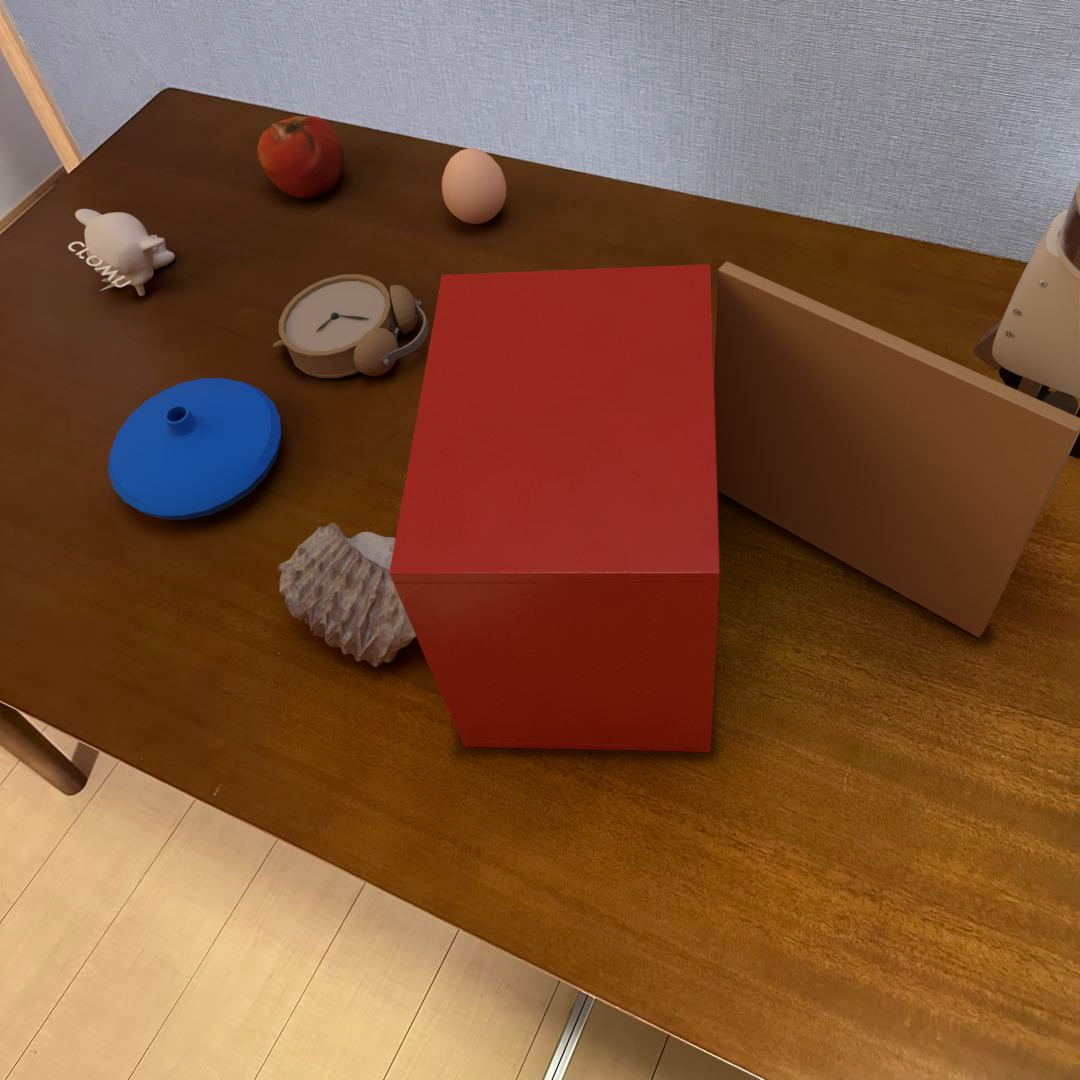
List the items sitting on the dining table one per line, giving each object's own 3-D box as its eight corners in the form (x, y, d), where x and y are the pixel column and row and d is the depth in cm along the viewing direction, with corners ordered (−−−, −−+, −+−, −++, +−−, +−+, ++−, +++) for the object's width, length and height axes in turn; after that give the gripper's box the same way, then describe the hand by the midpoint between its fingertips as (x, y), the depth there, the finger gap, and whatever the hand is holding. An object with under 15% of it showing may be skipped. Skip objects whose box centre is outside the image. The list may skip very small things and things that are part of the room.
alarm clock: (306, 269, 105) (435, 269, 99) (328, 307, 109) (453, 308, 103) (255, 349, 99) (389, 353, 93) (280, 385, 103) (409, 392, 97)
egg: (497, 242, 109) (485, 178, 102) (439, 233, 111) (424, 169, 104) (519, 201, 112) (509, 136, 106) (463, 193, 114) (450, 129, 107)
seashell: (480, 591, 81) (391, 565, 73) (424, 695, 82) (330, 680, 74) (373, 514, 90) (284, 483, 82) (324, 608, 91) (231, 587, 83)
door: (763, 427, 91) (785, 202, 71) (1029, 565, 80) (1140, 344, 61) (710, 487, 88) (717, 269, 68) (978, 638, 77) (1077, 431, 58)
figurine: (133, 257, 117) (56, 287, 110) (120, 183, 112) (38, 210, 105) (209, 290, 112) (134, 323, 106) (199, 214, 107) (119, 244, 100)
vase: (275, 380, 101) (250, 326, 95) (305, 501, 92) (280, 450, 86) (115, 431, 100) (80, 380, 94) (130, 559, 91) (93, 511, 85)
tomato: (273, 166, 121) (249, 103, 114) (351, 153, 120) (332, 89, 114) (269, 217, 115) (244, 155, 109) (351, 204, 115) (331, 140, 108)
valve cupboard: (704, 484, 88) (710, 263, 69) (710, 752, 75) (720, 573, 55) (494, 487, 91) (441, 274, 71) (463, 747, 77) (388, 573, 58)
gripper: (1323, 236, 55) (1183, 457, 70) (1019, 150, 61) (952, 369, 76) (1281, 326, 51) (1144, 537, 67) (966, 226, 58) (907, 438, 73)
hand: (1042, 446), depth 71 cm, fingers closed on door, 2 cm apart
